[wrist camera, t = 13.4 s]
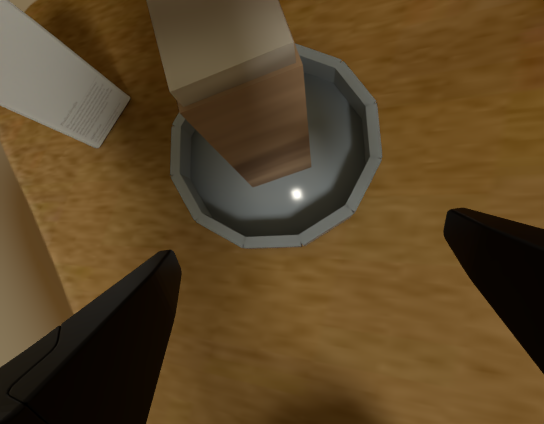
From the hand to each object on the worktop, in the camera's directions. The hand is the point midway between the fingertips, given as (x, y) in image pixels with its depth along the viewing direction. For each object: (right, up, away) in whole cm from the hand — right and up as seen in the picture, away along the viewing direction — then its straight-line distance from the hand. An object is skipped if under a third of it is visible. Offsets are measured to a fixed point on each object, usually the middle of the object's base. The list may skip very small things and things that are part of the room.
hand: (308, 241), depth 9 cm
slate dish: (-1, +6, +14) cm, 15 cm away
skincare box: (-18, +10, +18) cm, 27 cm away
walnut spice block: (-1, +6, +14) cm, 15 cm away
